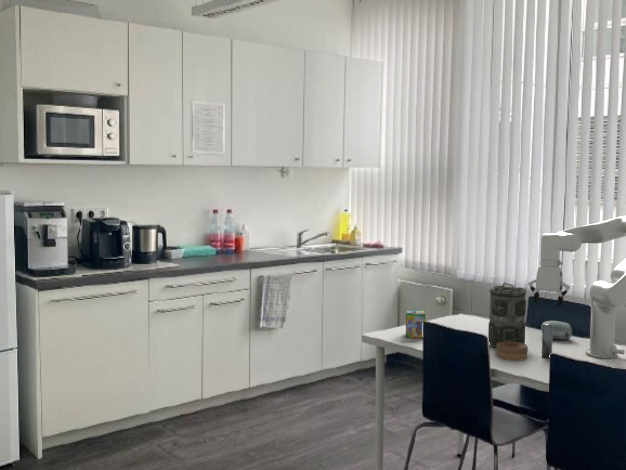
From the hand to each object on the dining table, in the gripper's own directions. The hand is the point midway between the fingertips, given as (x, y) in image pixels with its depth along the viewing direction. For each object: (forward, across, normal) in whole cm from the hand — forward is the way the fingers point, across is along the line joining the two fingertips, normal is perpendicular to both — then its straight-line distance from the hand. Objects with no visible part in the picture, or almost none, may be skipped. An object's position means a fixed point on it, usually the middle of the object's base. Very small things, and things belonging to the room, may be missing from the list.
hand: (548, 304), depth 293 cm
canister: (+23, +21, -8) cm, 32 cm away
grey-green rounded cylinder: (+23, +8, -35) cm, 42 cm away
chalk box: (+23, +62, +2) cm, 66 cm away
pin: (+22, 0, 0) cm, 22 cm away
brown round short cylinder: (+22, +12, +8) cm, 27 cm away
